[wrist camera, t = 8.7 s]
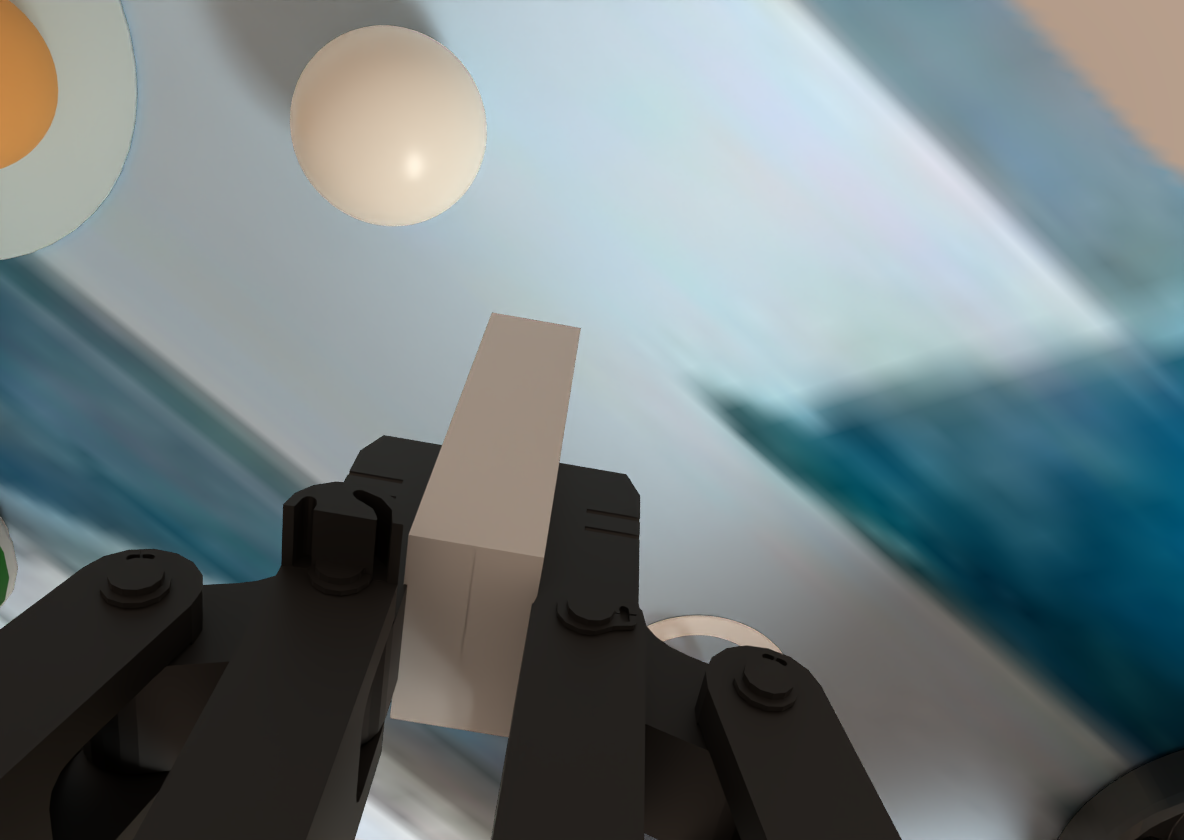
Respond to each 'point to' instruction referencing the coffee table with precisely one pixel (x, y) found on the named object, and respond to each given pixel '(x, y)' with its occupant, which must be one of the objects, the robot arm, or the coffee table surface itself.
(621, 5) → the coffee table surface
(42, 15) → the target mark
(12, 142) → the object ball
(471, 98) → the cue ball
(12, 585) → the soda can
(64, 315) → the coffee table surface
